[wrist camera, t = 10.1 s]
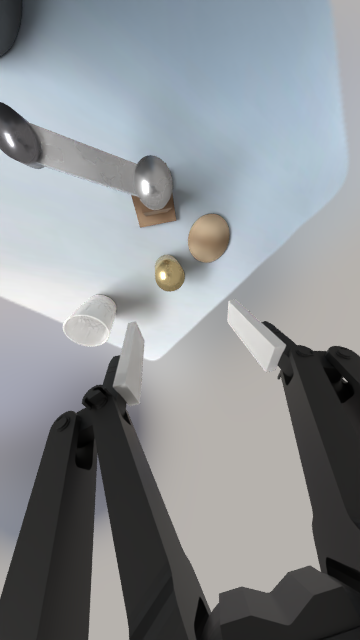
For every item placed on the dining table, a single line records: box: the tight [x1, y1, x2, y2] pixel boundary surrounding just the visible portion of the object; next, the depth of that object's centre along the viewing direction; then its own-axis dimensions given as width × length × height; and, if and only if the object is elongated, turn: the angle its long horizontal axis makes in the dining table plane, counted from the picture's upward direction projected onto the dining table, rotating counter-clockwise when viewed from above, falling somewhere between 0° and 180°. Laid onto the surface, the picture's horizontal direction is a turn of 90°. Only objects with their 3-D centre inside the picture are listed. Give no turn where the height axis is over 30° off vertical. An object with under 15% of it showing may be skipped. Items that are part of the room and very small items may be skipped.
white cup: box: [63, 295, 117, 346], centre depth 31 cm, size 8×8×10 cm
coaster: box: [188, 214, 229, 263], centre depth 30 cm, size 9×9×1 cm
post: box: [131, 163, 176, 227], centre depth 21 cm, size 7×7×10 cm
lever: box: [0, 102, 173, 210], centre depth 14 cm, size 16×4×2 cm, turn 76°
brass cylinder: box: [155, 255, 185, 291], centre depth 29 cm, size 6×6×7 cm
